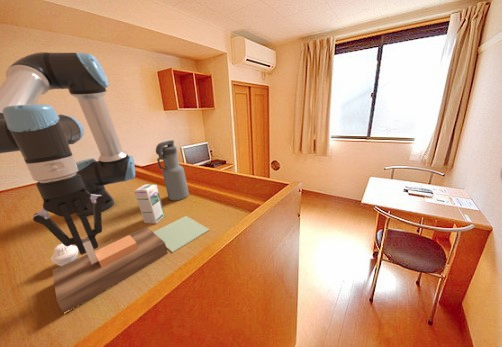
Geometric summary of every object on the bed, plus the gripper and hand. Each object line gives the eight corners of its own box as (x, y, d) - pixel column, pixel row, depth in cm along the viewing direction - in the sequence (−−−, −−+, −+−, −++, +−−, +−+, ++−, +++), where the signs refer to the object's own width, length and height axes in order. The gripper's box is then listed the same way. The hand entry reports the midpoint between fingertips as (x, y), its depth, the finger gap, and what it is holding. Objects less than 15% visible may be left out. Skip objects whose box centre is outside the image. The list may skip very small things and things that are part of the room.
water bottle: (176, 203, 93) (163, 144, 84) (164, 199, 98) (149, 143, 89) (193, 194, 101) (182, 139, 92) (180, 191, 106) (169, 139, 97)
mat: (151, 233, 70) (151, 233, 70) (186, 216, 80) (186, 215, 80) (172, 252, 60) (172, 251, 60) (209, 230, 69) (209, 229, 69)
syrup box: (156, 223, 77) (147, 189, 72) (143, 223, 78) (133, 189, 73) (165, 216, 82) (157, 183, 77) (153, 215, 83) (144, 183, 78)
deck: (58, 282, 53) (52, 270, 51) (149, 236, 69) (146, 226, 68) (64, 315, 44) (56, 301, 42) (167, 253, 60) (164, 242, 59)
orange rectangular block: (96, 257, 55) (94, 251, 54) (131, 240, 61) (129, 234, 60) (101, 267, 51) (98, 261, 50) (138, 248, 57) (136, 242, 56)
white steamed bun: (75, 254, 63) (67, 236, 61) (86, 258, 61) (78, 239, 59) (51, 268, 58) (41, 249, 56) (62, 273, 56) (52, 253, 53)
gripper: (14, 190, 38) (63, 284, 45) (96, 171, 46) (125, 252, 54) (16, 183, 43) (60, 268, 50) (90, 166, 51) (117, 241, 59)
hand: (94, 260), depth 52 cm, fingers closed
